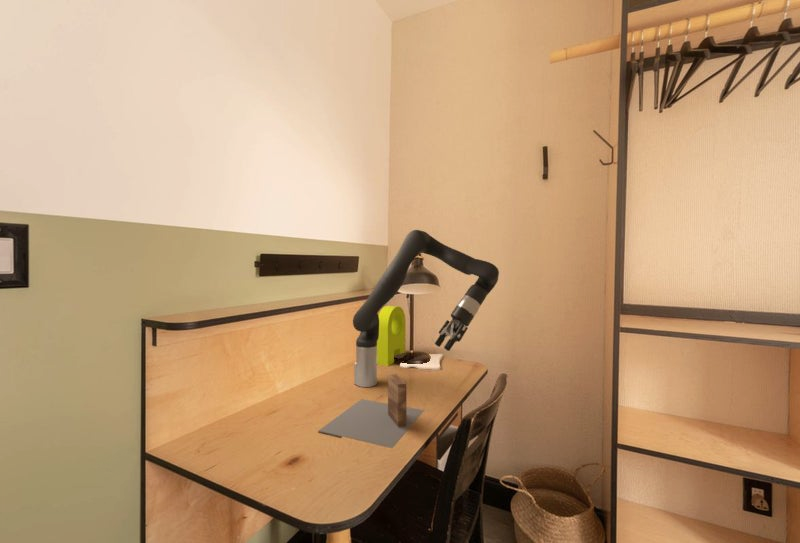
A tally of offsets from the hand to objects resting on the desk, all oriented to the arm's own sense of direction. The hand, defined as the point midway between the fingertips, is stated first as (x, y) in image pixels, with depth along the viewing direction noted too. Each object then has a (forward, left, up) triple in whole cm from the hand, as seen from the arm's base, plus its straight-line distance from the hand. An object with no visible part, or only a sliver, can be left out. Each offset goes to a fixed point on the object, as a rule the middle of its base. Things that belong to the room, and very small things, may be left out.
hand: (441, 347), depth 126 cm
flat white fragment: (-27, +57, -25) cm, 68 cm away
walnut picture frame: (-12, -13, -23) cm, 29 cm away
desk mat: (-19, -16, -24) cm, 34 cm away
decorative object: (-44, +53, -24) cm, 73 cm away
